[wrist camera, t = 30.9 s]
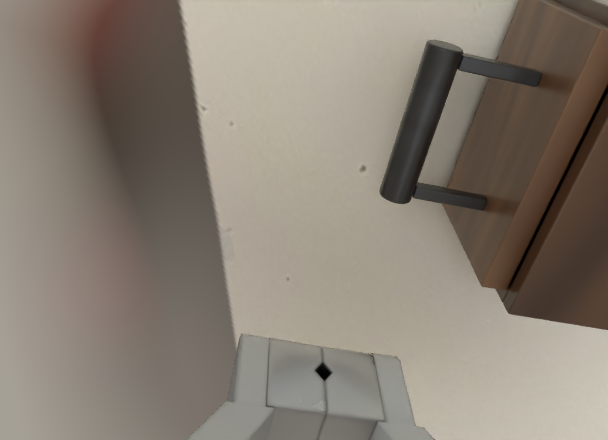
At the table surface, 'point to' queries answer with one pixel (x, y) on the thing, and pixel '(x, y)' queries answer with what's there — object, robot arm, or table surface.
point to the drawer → (506, 131)
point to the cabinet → (571, 232)
